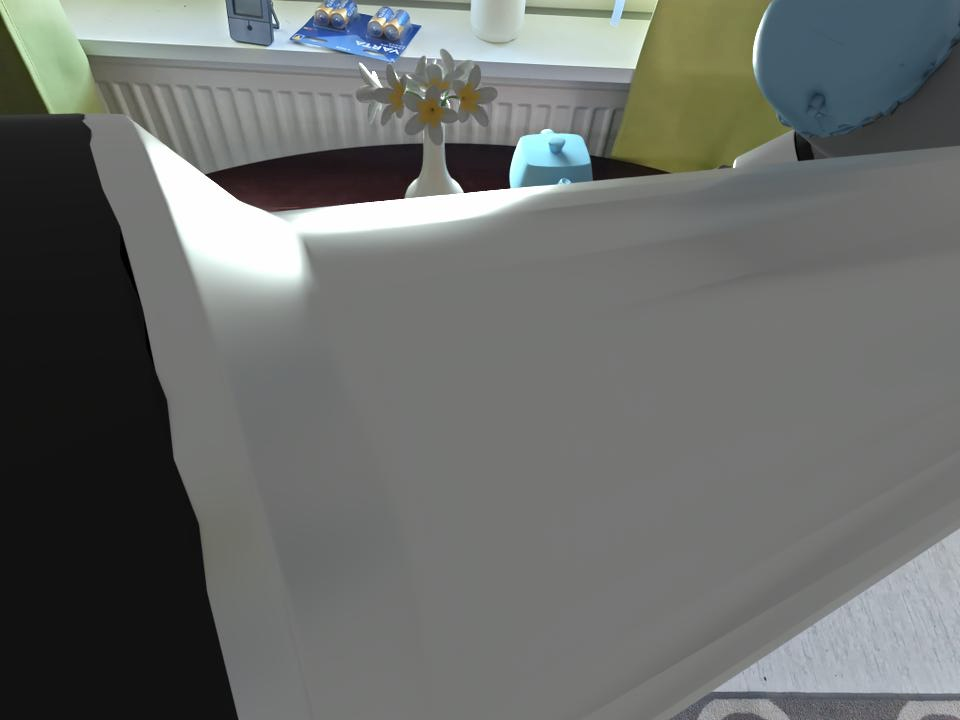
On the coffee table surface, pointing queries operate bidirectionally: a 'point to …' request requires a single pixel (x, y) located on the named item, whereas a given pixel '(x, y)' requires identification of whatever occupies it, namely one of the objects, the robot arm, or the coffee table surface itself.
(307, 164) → the coffee table surface
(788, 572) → the robot arm
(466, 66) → the flower vase
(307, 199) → the coffee table surface
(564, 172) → the teapot
